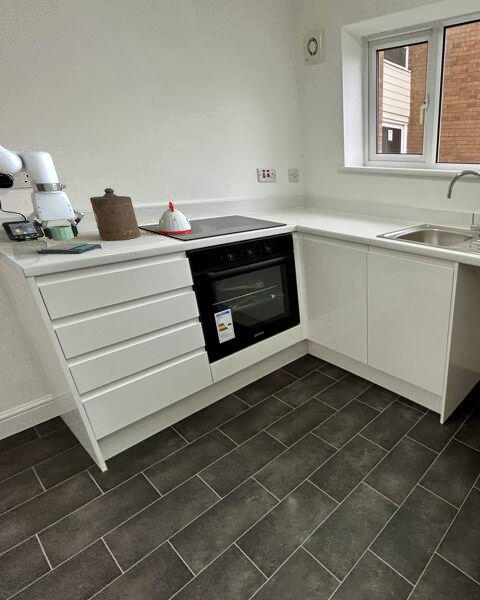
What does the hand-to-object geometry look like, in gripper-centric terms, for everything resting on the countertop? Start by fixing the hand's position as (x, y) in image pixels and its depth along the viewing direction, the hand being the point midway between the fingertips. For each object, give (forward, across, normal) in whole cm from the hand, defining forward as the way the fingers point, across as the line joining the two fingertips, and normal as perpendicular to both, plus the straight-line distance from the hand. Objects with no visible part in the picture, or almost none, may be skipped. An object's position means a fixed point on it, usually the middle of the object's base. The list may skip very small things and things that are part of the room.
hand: (63, 237), depth 132 cm
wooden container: (+7, -23, -21) cm, 32 cm away
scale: (+6, -1, +1) cm, 7 cm away
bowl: (+1, 0, 0) cm, 1 cm away
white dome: (+7, -45, -18) cm, 49 cm away
